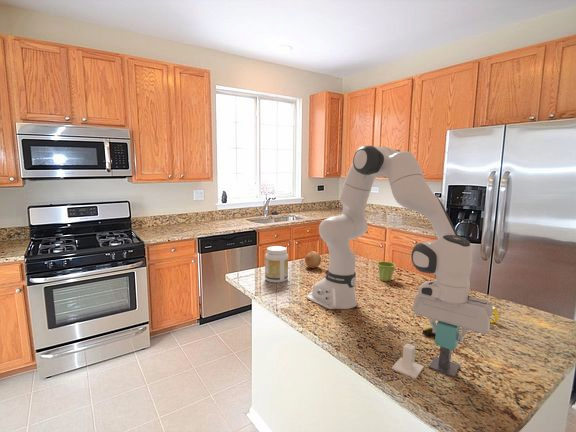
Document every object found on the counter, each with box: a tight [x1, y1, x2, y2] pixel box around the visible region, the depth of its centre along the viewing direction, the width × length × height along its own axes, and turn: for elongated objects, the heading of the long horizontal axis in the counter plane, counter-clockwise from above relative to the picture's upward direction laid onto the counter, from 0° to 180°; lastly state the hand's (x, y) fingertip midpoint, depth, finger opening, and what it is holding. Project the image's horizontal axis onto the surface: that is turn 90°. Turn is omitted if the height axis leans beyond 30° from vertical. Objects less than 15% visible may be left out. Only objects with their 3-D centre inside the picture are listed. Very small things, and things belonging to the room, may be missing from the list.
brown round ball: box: [304, 250, 322, 269], centre depth 192 cm, size 10×10×10 cm
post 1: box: [391, 342, 425, 380], centre depth 95 cm, size 7×7×7 cm
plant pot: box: [376, 261, 397, 282], centre depth 173 cm, size 9×9×9 cm
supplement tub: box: [264, 245, 289, 284], centre depth 170 cm, size 12×12×17 cm
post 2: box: [428, 346, 461, 378], centre depth 96 cm, size 7×7×7 cm
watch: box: [490, 305, 499, 324], centre depth 127 cm, size 6×3×6 cm, turn 18°
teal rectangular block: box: [434, 321, 461, 351], centre depth 95 cm, size 5×5×7 cm
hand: (447, 336), depth 95 cm, fingers closed on teal rectangular block, 5 cm apart
